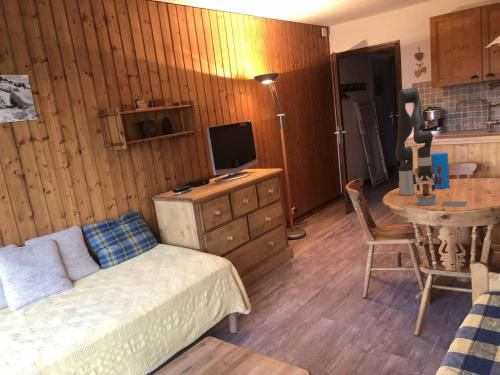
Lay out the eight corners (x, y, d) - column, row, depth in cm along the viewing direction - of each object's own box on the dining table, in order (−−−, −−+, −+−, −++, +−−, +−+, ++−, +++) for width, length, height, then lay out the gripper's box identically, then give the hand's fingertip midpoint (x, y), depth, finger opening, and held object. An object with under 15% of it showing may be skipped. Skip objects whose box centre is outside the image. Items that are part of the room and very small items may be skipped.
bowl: (416, 206, 237) (415, 198, 236) (419, 202, 245) (419, 194, 244) (434, 206, 231) (433, 198, 230) (437, 202, 239) (436, 194, 238)
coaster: (439, 207, 228) (439, 206, 227) (443, 202, 238) (443, 201, 238) (464, 207, 220) (464, 206, 220) (467, 202, 230) (467, 201, 230)
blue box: (448, 189, 271) (446, 153, 267) (431, 189, 277) (430, 155, 273) (449, 186, 280) (448, 152, 276) (433, 186, 286) (432, 153, 282)
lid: (414, 198, 236) (413, 186, 234) (418, 194, 244) (417, 182, 243) (434, 198, 229) (433, 185, 228) (437, 194, 238) (436, 182, 237)
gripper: (410, 165, 235) (412, 192, 237) (436, 164, 227) (437, 192, 229) (413, 164, 241) (415, 189, 243) (438, 163, 233) (439, 189, 235)
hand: (425, 190), depth 236 cm, fingers open, 7 cm apart
